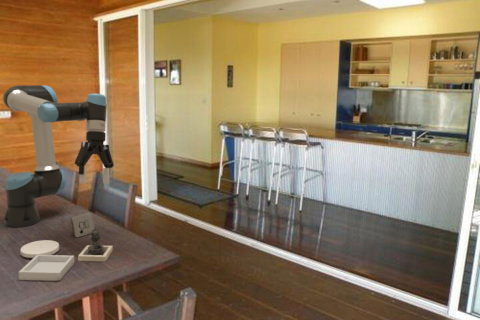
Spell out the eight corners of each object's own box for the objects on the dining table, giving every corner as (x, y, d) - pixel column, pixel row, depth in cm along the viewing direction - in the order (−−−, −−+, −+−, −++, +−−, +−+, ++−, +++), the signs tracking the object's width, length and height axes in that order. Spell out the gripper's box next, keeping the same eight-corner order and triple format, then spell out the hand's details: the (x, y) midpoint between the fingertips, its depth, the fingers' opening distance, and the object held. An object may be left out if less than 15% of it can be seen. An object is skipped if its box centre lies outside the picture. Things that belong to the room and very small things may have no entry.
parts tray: (37, 262, 157) (37, 254, 156) (74, 262, 157) (74, 255, 157) (19, 279, 143) (18, 272, 143) (59, 280, 144) (59, 272, 143)
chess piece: (90, 252, 167) (89, 224, 165) (105, 252, 168) (104, 224, 165) (86, 258, 161) (85, 229, 159) (101, 258, 162) (100, 230, 159)
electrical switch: (76, 238, 181) (74, 217, 179) (70, 236, 184) (68, 216, 182) (95, 232, 188) (93, 213, 186) (89, 230, 191) (87, 211, 190)
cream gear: (22, 248, 169) (22, 242, 169) (59, 244, 175) (59, 238, 174) (18, 262, 157) (18, 256, 156) (58, 257, 162) (58, 251, 161)
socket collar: (87, 249, 169) (87, 245, 169) (112, 250, 170) (112, 245, 169) (78, 260, 159) (78, 256, 159) (105, 261, 160) (105, 256, 159)
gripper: (81, 127, 156) (79, 183, 155) (122, 134, 179) (121, 183, 178) (65, 128, 159) (64, 183, 158) (108, 135, 182) (107, 183, 181)
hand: (94, 183), depth 168 cm, fingers open, 13 cm apart
